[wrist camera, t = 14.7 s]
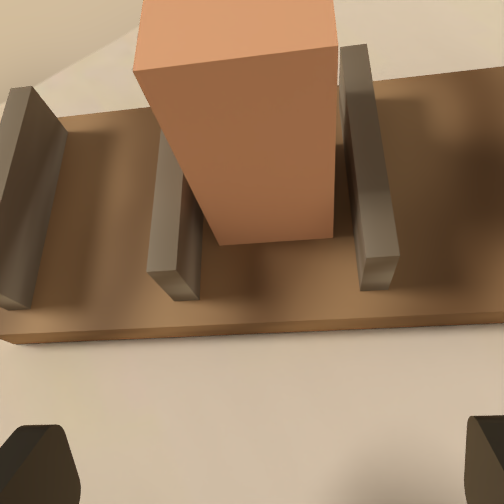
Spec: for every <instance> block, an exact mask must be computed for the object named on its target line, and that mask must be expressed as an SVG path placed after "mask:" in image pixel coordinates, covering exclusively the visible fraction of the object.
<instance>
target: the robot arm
mask: <svg viewBox="0 0 504 504" xmlns="http://www.w3.org/2000/svg"><path fill="white" fill-rule="evenodd" d="M464 487H465V495H466V500H467V504H504V415H495V416H470V417H469V419H468V422H467V436H466V454H465V472H464ZM80 493H81V485H80V479H79V476H78V473H77V469H76V466H75V463H74V460H73V457H72V453H71V450H70V447H69V444H68V441H67V437H66V434H65V432H64V430H63V428H62V427H61V426H60V425H24V426H20V427H19V428H17V429H16V430H15V431H14V432H13V433H12V434H11V436H10V437H9V438H8V439H7V440H6V442H5V443H4V444H3V445H2V446H1V448H0V504H79V501H80Z"/></svg>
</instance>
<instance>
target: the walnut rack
mask: <svg viewBox="0 0 504 504" xmlns="http://www.w3.org/2000/svg"><path fill="white" fill-rule="evenodd" d="M488 323H504V66H503V67H494V68H486V69H477V70H468V71H460V72H451V73H442V74H434V75H425V76H416V77H407V78H399V79H390V80H381V81H372V74H371V68H370V62H369V55H368V49H367V44H361V45H353V46H345V47H340V75H339V85H338V86H337V109H336V146H335V183H334V220H333V238H325V239H310V240H295V241H281V242H266V243H251V244H237V245H222V246H219V244H218V242H217V240H216V238H215V236H214V234H213V232H212V230H211V228H210V226H209V224H208V222H207V220H206V218H205V216H204V214H203V212H202V210H201V208H200V206H199V204H198V202H197V200H196V198H195V196H194V194H193V192H192V190H191V188H190V186H189V184H188V181H187V179H186V177H185V175H184V173H183V171H182V169H181V167H180V165H179V163H178V161H177V159H176V157H175V155H174V153H173V151H172V149H171V147H170V145H169V143H168V141H167V139H166V137H165V135H164V133H163V131H162V129H161V127H160V125H159V123H158V121H157V119H156V117H155V115H154V113H153V111H152V109H151V107H146V108H138V109H129V110H120V111H111V112H103V113H94V114H85V115H77V116H68V117H59V118H57V117H56V116H55V115H54V113H53V112H52V111H51V110H50V108H49V107H48V106H47V105H46V103H45V102H44V101H43V99H42V98H41V97H40V96H39V94H38V93H37V92H36V90H35V89H34V88H33V87H32V86H28V87H21V88H12V89H10V92H9V96H8V99H7V102H6V106H5V109H4V112H3V116H2V119H1V123H0V339H2V340H4V341H7V342H10V343H12V344H28V343H51V342H74V341H97V340H120V339H143V338H166V337H189V336H212V335H235V334H258V333H281V332H304V331H327V330H350V329H373V328H396V327H419V326H442V325H465V324H488Z"/></svg>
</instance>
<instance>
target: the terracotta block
mask: <svg viewBox="0 0 504 504" xmlns="http://www.w3.org/2000/svg"><path fill="white" fill-rule="evenodd" d="M337 72H338V40H337V31H336V22H335V14H334V5H333V0H143V5H142V13H141V19H140V25H139V32H138V39H137V46H136V52H135V59H134V66H133V73H134V75H135V77H136V79H137V81H138V83H139V85H140V87H141V89H142V91H143V93H144V95H145V97H146V99H147V101H148V103H149V105H150V107H151V109H152V111H153V113H154V115H155V117H156V119H157V121H158V123H159V125H160V127H161V129H162V131H163V133H164V135H165V137H166V139H167V141H168V143H169V145H170V147H171V149H172V151H173V153H174V155H175V157H176V159H177V161H178V163H179V165H180V167H181V169H182V171H183V173H184V175H185V177H186V179H187V181H188V184H189V186H190V188H191V190H192V192H193V194H194V196H195V198H196V200H197V202H198V204H199V206H200V208H201V210H202V212H203V214H204V216H205V218H206V220H207V222H208V224H209V226H210V228H211V230H212V232H213V234H214V236H215V238H216V240H217V242H218V244H219V246H222V245H237V244H251V243H266V242H281V241H295V240H310V239H325V238H333V220H334V183H335V146H336V109H337Z"/></svg>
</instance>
